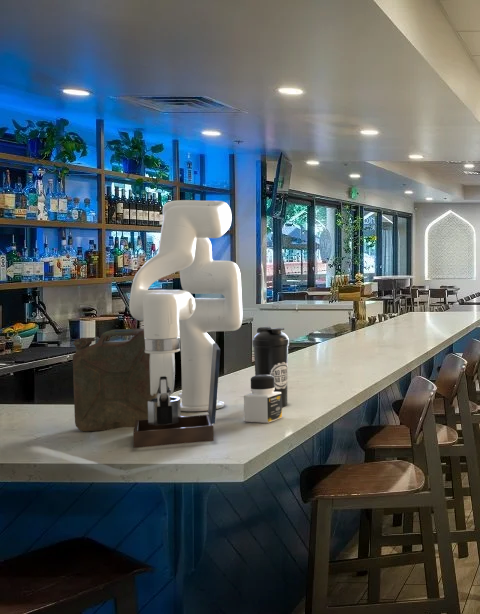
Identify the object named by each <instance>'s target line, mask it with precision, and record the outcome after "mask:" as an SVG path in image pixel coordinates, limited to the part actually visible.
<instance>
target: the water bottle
mask: <svg viewBox="0 0 480 614" xmlns="http://www.w3.org/2000/svg"><path fill="white" fill-rule="evenodd" d="M284 330H285V327H276V328H272V327H271V326H260V327H258V328H257V329H256V333H255V335H254V336H253V338H252V339H251V341H252V347H253V356H254V360H253V361H254V376H256V375H271V376H273V377H274V378H275V390H274V392H281V393H282V408H284V407H287V406H288V392H289V391H288V387H289V385H288V384H289V383H288V382H289V381H288V379H289V378H288V377H289V346H290V337H289V336H288V335H287V333H285V332H283V331H284Z"/></svg>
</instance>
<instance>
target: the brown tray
mask: <svg viewBox="0 0 480 614" xmlns="http://www.w3.org/2000/svg"><path fill="white" fill-rule="evenodd" d="M132 435H133V439H132V440H133V448H134V449H136V448H138V449H139V448H148V447H159V446H160V447H161V446H171V445H181V444H192V443H193V444H194V443H201V442H213V441H214V424H211V421H210V417H209V414H196V415H195V414H194V415H181V421H180V422H179V423H176V424H171V425H162V426H154V425H150V424H148V419H143V420H135V425H134V427H133V432H132Z"/></svg>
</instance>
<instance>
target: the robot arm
mask: <svg viewBox="0 0 480 614" xmlns="http://www.w3.org/2000/svg"><path fill="white" fill-rule="evenodd" d="M162 216H163V218H162V222H161V223H162V224H161V229H160V236H159V242H158V249H157V253H156V254H155V255H154V256H152V257H151V258H149V259H148V260H147V261H146V262H145V263H144V264H143V265H142V266H141V267H140V268H139V269H138V271H137V272H136V273H135V275H134V278H133V280H132V283H131V289H130V294H129V302H128V303H129V304H128V305H129V306H128V308H129V312H130V313H129V314H130V315H131V317H132V318H133V319H135V320H137V321H140V322H141V321H142V322H143V329H144V345H145V353H150V362H149V365H150V394H151V395H152V396H154V394H156V393H157V399H158V407H157V424H168V423H172V406H171V400H170V397H172V396H171V395H173V394H174V391H175V390H174V389H175V380H176V378H175V377H176V376H175V375H176V359H175V353H178V352H180V360H181V361H180V364H181V365H180V366H181V367H180V368H181V393H178V395H177V397H178V398H180V399H181V402H180V405H181V412H205V411H206V412H208V407H209V393H210V379H211V365H212V351H213V343H216V342H215V341H214V339H213V338H212V337H211V336H210V335H209V334H208V333H211V332H234V331H237V330H239V329H240V328H242V327H241V326H242V324H243V315H244V314H243V295H242V290H243V289H242V275H241V271H240V270H241V269H240V268H239V266H238V264H237V263H236V262H234V261H231V260H215V259H213V251H212V241H211V240H210V239H218V238H221V237H222V236H224V235H225V234H226V233H227V231H228V230H229V229H230V227H231V225H232V219H233V217H232V210H231V207H230V205H229V204H228V203H227V202H225V201H223V200H197V199H196V200H195V199H191V200H190V199H181V200H180V199H178V200H171V201H170V200H169V201H167V202H166V203H164V204H163V207H162ZM178 272H179V277H180V285H181V289H149V288H150V287H151V286H152V285H153V284H154V283H155V282H157V281H158V280H161V279H162V278H164V277H167V276H169V275H173V274H175V273H178ZM193 294H196V295H222V296H223V297H216V298H213V297H194V296H193ZM224 406H225V402H224V401H222V400H219V388H218V389H217V403H216V410H218V409H221V408H223V407H224Z"/></svg>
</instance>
